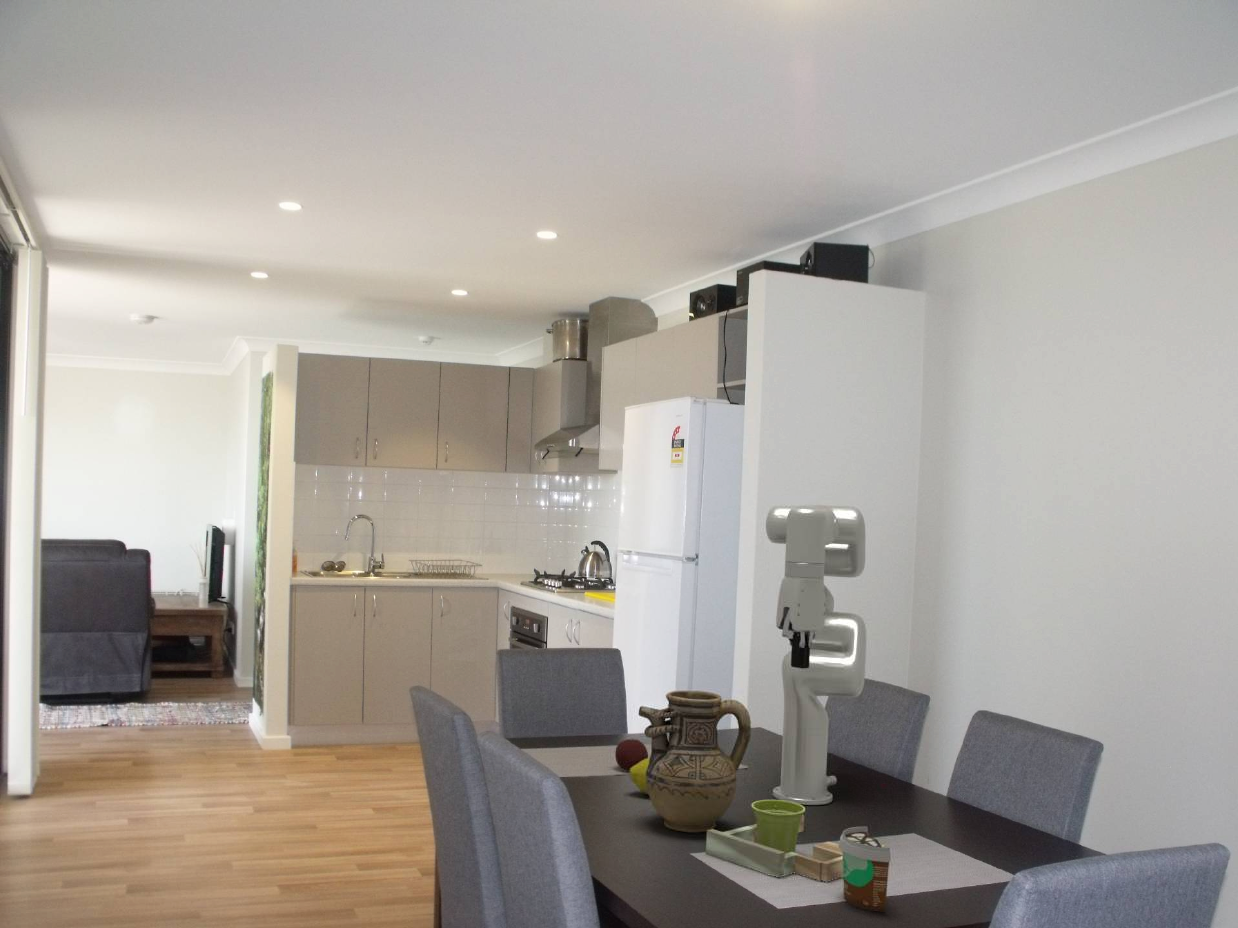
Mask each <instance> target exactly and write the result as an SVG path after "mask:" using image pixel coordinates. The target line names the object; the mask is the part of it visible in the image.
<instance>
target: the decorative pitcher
mask: <svg viewBox="0 0 1238 928" xmlns="http://www.w3.org/2000/svg"><path fill="white" fill-rule="evenodd" d="M665 698H666V700H667V702H668V704H667V707H666V708H663V709H662V708H661V709H657V708H654V707H648V706H642V705H641V706H640V707H639V709H638V716H639V717H642V718H645V719H647V720H648V721H649V722H650V725H648V726H647V727H645V729H644V733H643V734H644V735H645V736H646V737H645V738H649V739H650V738H651V742H650V743H651V745H650V746H651V749H650V750H651V751H650V757H649V758H650V760H649V765H648V767H647V770H646V786H647V789H648V793H649V794H648V796H649V799H650V802H651V804H652V806H653V808H654V809H655V811H656V812H657V814H658V815H659V816H660V817H662V819H664V822H663V824H664V826H665V827H666V828H667V829H670V830H672V831H677V832H682V833H691V834H692V833H693V834H695V833H704V832H707V830H711V829H715V828H716V821H717V820H718V819H720V818H721V817H722V816H723V815H724V814H725V813H726V812H727V810H729V808H730V806H731V804H732V802H733V799H734V796H735V794H736V789H737V773H738V770H739V767H740V765H741V763H742V761H743V760H744V759H743V758H744V756H745V754H746V752H747V748H748V747H749V746H748V745H749V743H750V739H751V735H752V734H751V733H752V727H751V724H752V721H751V715H750V714H749V711H748V709H747V707H745V705H744V704H743V703H742V702H740V701H739V700H736V699H725V700H723V699H722V698H723V697H722V696H721V695H719V694H717V693H713V692H709V691H701V690H674V691H673V690H672V691H670V692H668V693H666V694H665ZM726 715H732V716H734V717H735V718H736V722H737V726H738V735H737V737H736V740H735V743H734V746H733V748H732V751H731V753H730V755H729V756H728V755H727V754H726V753H725V752H724V751H723V749H722V748H721V747H720V746H719V744H718V743H719V742H718V739H719V738H718V735H719V734H718V724H719V722H720V720H722V718H723V717H724V716H726ZM668 734H669V735H668Z"/></svg>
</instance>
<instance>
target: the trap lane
mask: <svg viewBox="0 0 1238 928" xmlns="http://www.w3.org/2000/svg"><path fill="white" fill-rule="evenodd" d="M804 827H805V815H804V814H803V815H802V819H801V821H800V825H799V830H798V834H799V833H803V832H804V830H805V829H804ZM705 844H706V845H705V854H707V855H709V856H712V857H715V858H717V859H721V860H723V861H727V862H729V861H730V863H733V864H735V863H736V864H735V865H738V866H741V865H743V866H742V867H744V866H746V867H745V868H747V867H748V869H750V868H752V869H751V870H753V869H754V870H753V871H756V870H758V871H760V872H759V873H761V872H764V873H767V874H770V875H774V876H776V877H781V876H783V875H787V876H789V875H788V874H791V873H794V872H795V873H794V874H796V873H797V875H799V874H801V875H800V876H802V875H805V876H807V877H806V878H808V877H811V878H813V879H812V880H814V879H817V880H823V881H829V880H832V879H835V878H838V877H841V878H843V877H842V876H843V851H842V850H841V849H840V848H839V846H838V845H839V843H834V842H831V841H825V842H823V843H822V842H821V843H818V844H815V845H812V857H809V856H806V855H803V854H800V853H796V852H795V853H794V852H790V853H786V854H785V852H782V851H779V850H776V849H773V848H770V847H767V846H764V845H761V844H758V834H757V824H756V823H755V824H750V825H747V826H742V827H737V828H734V829H730V830H726V831H720V830H717V829H715V828H713V829H711V830H707V831H706V843H705ZM880 845H881V846H882V847H886V845H885V844H882V843H880ZM758 871H757V872H758ZM764 873H763V874H764ZM767 874H766V875H767ZM770 875H769V876H770ZM791 875H792V874H791ZM805 876H804V877H805ZM776 877H775V878H776ZM781 878H782V877H781ZM811 878H810V879H811ZM838 879H839V878H838ZM817 880H816V881H817ZM835 880H836V879H835ZM823 881H822V882H823ZM832 881H833V880H832ZM829 882H830V881H829Z"/></svg>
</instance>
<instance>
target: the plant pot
mask: <svg viewBox="0 0 1238 928" xmlns="http://www.w3.org/2000/svg"><path fill="white" fill-rule="evenodd" d="M751 809H752V810H753V814H754V815H753V816H754V817H755V822H756V823H755V824H757V834H758V844H761V845H764V846H767V847H770V848H773V849H776V850H779V851H782V852H785V854H786V853H790V852H794V853H796V846H797V840H798V836H799V833H798V830H799V825H800V821H801V819H802V815H804V813H805V812H806V808H805V806H804V805H803V804H797V803H794V802H789V801H783V800H779V799H762V800H756V801H754V802H752V803H751Z"/></svg>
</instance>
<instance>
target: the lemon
mask: <svg viewBox="0 0 1238 928" xmlns="http://www.w3.org/2000/svg"><path fill="white" fill-rule="evenodd" d="M649 760H650V757H648V758H647V759H644V760H642V761H641V762H639V763H638V764H636V765H634V766H633V767H631V768H630V771H629V775H630V777H629V778H630V781H632V782H633V783H634V784H635V786H636V787H637V789H639V790H640V791H641V792H642V793H645V794H647V795H649V793H648V789H647V786H646V770H647V767H648V765H649Z"/></svg>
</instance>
